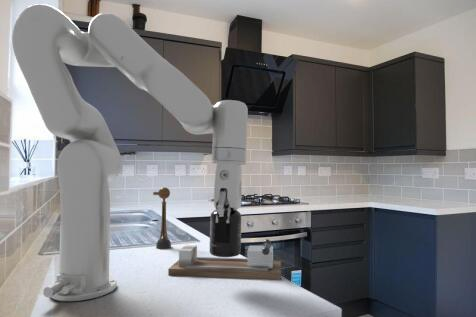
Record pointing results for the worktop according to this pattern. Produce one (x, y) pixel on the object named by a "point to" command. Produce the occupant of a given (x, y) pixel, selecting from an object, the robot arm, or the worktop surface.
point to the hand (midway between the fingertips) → (225, 238)
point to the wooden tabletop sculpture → (163, 220)
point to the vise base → (219, 266)
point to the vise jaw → (260, 256)
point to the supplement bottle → (235, 238)
